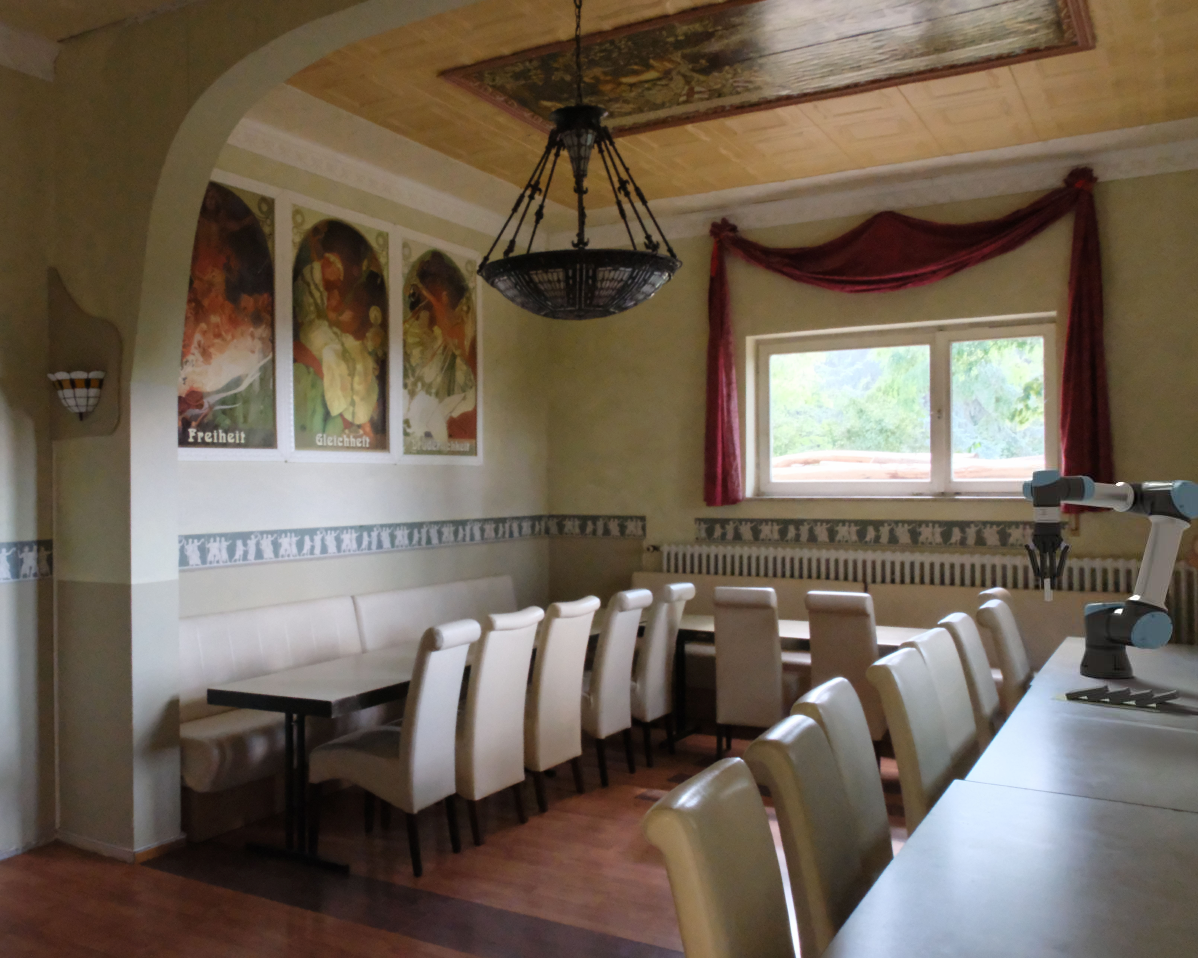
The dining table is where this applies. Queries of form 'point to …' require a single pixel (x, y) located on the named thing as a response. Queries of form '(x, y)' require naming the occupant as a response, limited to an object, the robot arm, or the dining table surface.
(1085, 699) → the strip
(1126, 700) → the domino
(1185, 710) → the domino
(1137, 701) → the domino
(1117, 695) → the domino
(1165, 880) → the dining table surface
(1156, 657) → the dining table surface
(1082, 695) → the domino
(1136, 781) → the dining table surface
